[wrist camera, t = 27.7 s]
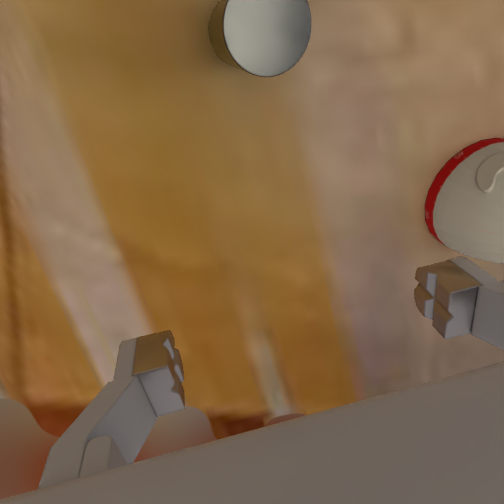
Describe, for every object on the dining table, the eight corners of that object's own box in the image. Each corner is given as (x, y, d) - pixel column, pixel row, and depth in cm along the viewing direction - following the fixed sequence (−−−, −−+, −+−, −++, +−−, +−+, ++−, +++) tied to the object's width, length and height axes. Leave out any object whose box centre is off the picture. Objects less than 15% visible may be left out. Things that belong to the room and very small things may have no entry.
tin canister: (215, 73, 35) (232, 84, 25) (201, -1, 32) (213, -20, 22) (275, 60, 35) (315, 68, 25) (266, -13, 32) (307, -37, 23)
